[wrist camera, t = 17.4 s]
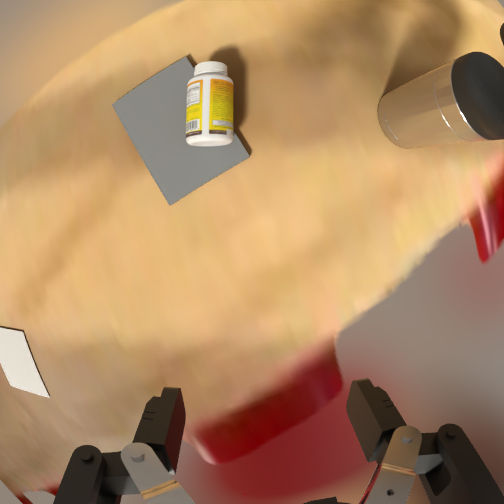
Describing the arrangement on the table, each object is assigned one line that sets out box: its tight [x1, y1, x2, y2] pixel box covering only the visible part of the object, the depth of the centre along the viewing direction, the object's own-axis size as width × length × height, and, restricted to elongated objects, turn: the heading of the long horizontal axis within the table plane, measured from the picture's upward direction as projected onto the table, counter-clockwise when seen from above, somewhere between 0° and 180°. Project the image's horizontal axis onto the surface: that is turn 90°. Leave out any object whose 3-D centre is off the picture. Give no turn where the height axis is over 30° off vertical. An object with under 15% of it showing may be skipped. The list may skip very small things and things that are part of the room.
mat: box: [112, 57, 250, 205], centre depth 34 cm, size 12×17×1 cm
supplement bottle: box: [186, 61, 233, 146], centre depth 31 cm, size 6×6×10 cm
